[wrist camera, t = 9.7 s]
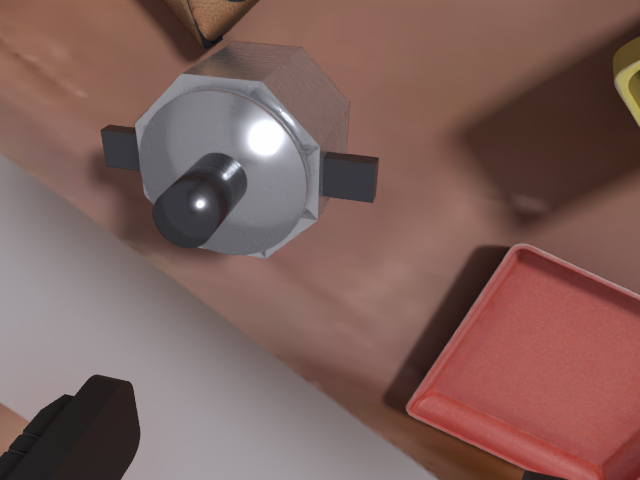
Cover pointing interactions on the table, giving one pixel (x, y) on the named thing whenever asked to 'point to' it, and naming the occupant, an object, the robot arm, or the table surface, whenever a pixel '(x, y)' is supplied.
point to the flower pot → (628, 76)
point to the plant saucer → (543, 371)
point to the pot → (291, 103)
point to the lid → (223, 172)
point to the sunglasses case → (209, 17)
